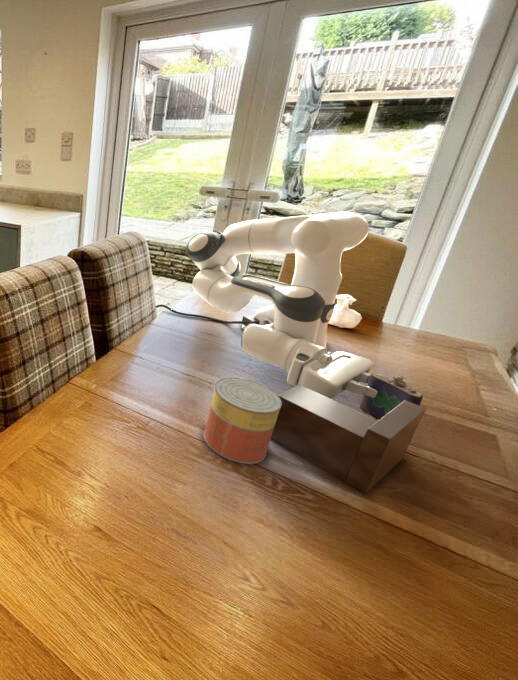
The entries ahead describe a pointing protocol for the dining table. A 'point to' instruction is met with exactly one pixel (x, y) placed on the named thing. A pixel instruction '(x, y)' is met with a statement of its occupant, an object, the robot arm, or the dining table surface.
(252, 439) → the canned food
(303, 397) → the l-shaped brown block
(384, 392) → the flask
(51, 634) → the dining table surface
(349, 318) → the white tied sack
